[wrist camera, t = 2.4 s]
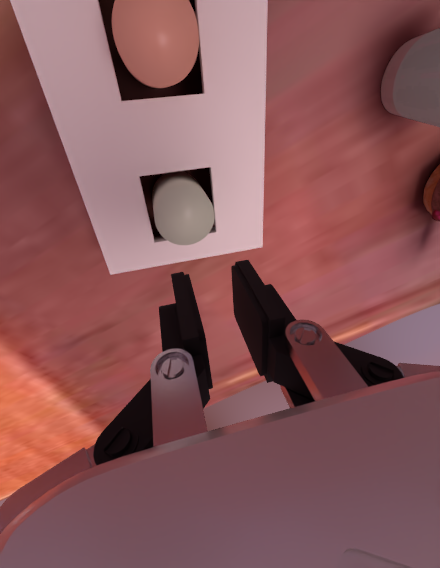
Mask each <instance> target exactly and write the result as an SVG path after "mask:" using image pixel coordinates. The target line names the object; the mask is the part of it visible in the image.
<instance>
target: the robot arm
mask: <svg viewBox="0 0 440 568" xmlns="http://www.w3.org/2000/svg"><path fill="white" fill-rule="evenodd" d="M171 277H172V283H173V289H174V295H175V300H176V303H175V304H170V305H165V306H160V307H159V315H160V327H161V338H162V350H163V352H162V353H160V354H159V355H158V356H157V357H156V358H155V359H154V360H153V362H152V364H151V369H150V373H151V379H150V380H149V381H148V382H147V384H146V385H145V386H144V387H143V388H142V389H141V390H140V391H139V392H138V393H137V394H136V396H135V397H134V398H133V399H132V400H131V401H130V402H129V403H128V404H127V405H126V407H125V408H124V409H123V410H122V411H121V412H120V413H119V414H118V415H117V416H116V418H115V419H114V420H113V421H112V422H111V423H110V424H109V425H108V426H107V427H106V428H105V430H104V431H103V432H102V433H101V435H100V436H99V437H98V439H97V441H96V444H95V445H93V446H91V447H90V448H88V449H87V450H86V449H85V448H82V449H81V450H79V451H78V452H76V453H75V454H73V455H71V456H70V457H68V458H67V459H65V460H64V461H62V462H60V463H59V464H57V465H56V466H54V467H53V468H51V469H50V470H48V471H46V472H45V473H43V474H42V475H40V476H39V477H37V478H35V479H34V480H32V481H31V482H29V483H28V484H26V485H25V486H23V487H21V488H20V489H18V490H17V491H16V492H14V493H13V494H12V495H11V496H10V497H8V498H7V499H6V501H5V502H4V503H3V504H2V506H1V507H0V568H440V366H431V365H419V364H407V363H399V364H398V366H395V365H394V364H393V363H391V362H389V361H388V360H386V359H383V358H381V357H377V356H375V355H372V354H369V353H366V352H363V351H360V350H357V349H354V348H351V347H348V346H345V345H342V344H339V343H336V342H334V341H333V340H332V339H331V338H330V336H329V335H328V334H327V333H326V331H325V330H324V329H323V328H322V327H321V326H320V325H319V324H317V323H315V322H312V321H309V320H296V319H295V317H294V316H293V315H292V313H291V312H290V310H289V309H288V307H287V306H286V304H285V303H284V302H283V300H282V299H281V297H280V296H279V294H278V293H277V291H276V290H275V288H274V287H273V286H272V285H271V284H268V285H264V283H263V282H262V280H261V279H260V277H259V276H258V274H257V273H256V271H255V270H254V268H253V266H252V265H251V263H250V262H249V260H244V261H239V262H236V263H235V265H234V266H232V286H233V304H234V315H235V318H236V321H237V323H238V326H239V328H240V330H241V333H242V335H243V337H244V340H245V342H246V344H247V347H248V349H249V352H250V354H251V356H252V359H253V361H254V363H255V366H256V368H257V370H258V373H259V375H260V376H262V375H264V376H265V378H266V381H267V383H268V382H272V381H274V382H275V383H277V384H279V385H280V386H281V390H282V392H283V394H284V396H285V398H286V401H287V403H288V405H289V407H290V409H286V410H283V411H279V412H275V413H272V414H268V415H265V416H261V417H258V418H254V419H251V420H247V421H243V422H240V423H236V424H233V425H230V426H226V427H222V428H218V429H215V430H212V431H207V426H206V421H205V416H204V411H203V408H204V407H205V406H206V404H207V403H208V401H209V400H210V395H209V389H211V388H213V385H212V379H211V372H210V365H209V358H208V351H207V345H206V338H205V333H204V329H203V325H202V322H201V318H200V314H199V310H198V307H197V303H196V299H195V295H194V292H193V288H192V284H191V280H190V277H189V274H187V275H184V273H183V272H180V273H174V274H171Z"/></svg>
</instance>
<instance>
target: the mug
mask: <svg viewBox="0 0 440 568" xmlns="http://www.w3.org/2000/svg"><path fill="white" fill-rule="evenodd" d="M423 203H424V205H425V207H426V209H427V211H428V212H430V214H431V215H432V218H433V219H434V220H436V221H440V164H439V165H438V167H437V168H436V169H435V170H434V171H433V173H432V174H431V176H430V178H429V180H428V181H427V184H426V186H425V188H424V195H423Z"/></svg>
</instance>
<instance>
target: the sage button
mask: <svg viewBox="0 0 440 568" xmlns="http://www.w3.org/2000/svg"><path fill="white" fill-rule="evenodd" d="M152 201H153V211H154V219H155V224H156V227H157V230H158V231H159V233H160V234H161V235H162V236H163V237H164V238H165V239H166V240H167V241H169V242H171V243H174V244H177V245H191V244H195V243H197V242H199V241H201V240H202V239H204V238H205V237H206V236H207V235H208V233H209V232H210V231H211V229H212V226H213V224H214V218H215V213H214V208H213V205H212V203H211V201H210V200H209V198H208V197H207V195H206V194H205V192H204V191H203V189H202V187H201V186H200V184H199V183H198V181H197V180H196V179H195V178H194V177H193V176H191V175H190V174H188V173H185V172H182V171H177V172H169V173H166V174H164V175H163V176H161V177H160V178H159V179H158V180H157V182H156V183H155V185H154V187H153V191H152Z"/></svg>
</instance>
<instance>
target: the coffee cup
mask: <svg viewBox="0 0 440 568" xmlns="http://www.w3.org/2000/svg"><path fill="white" fill-rule="evenodd" d="M381 99H382V103H383V105H384V107H385V109H386V110H387V111H388V112H389V113H391V114H394V115H397V116H401V117H404V118H408V119H412V120H415V121H419V122H423V123H426V124H430V125H434V126H437V127H440V28H439V29H436V30H433V31H431V32H428V33H426V34H423V35H420V36H418V37H415V38H413V39H411V40H409V41H407V42H406V43H405V44H403V45H402V46H401V47H400V48H399V49H398V50H397V51H396V53H395V54H394V55H393V57H392V58H391V60H390V62H389V64H388V65H387V68H386V70H385V73H384V76H383V79H382V84H381Z"/></svg>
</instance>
